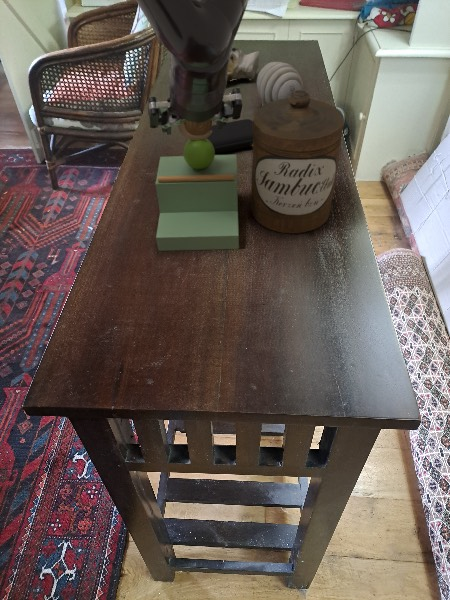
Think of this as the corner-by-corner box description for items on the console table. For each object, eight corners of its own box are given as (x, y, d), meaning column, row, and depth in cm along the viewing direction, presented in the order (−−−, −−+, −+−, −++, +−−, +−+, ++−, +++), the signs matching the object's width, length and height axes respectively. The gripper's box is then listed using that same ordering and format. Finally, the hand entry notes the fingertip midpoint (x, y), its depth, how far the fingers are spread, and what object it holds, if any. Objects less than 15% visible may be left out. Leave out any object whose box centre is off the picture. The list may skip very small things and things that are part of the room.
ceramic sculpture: (262, 51, 119) (205, 58, 119) (263, 85, 126) (209, 92, 126) (256, 38, 127) (203, 45, 127) (257, 71, 133) (206, 77, 133)
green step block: (158, 251, 80) (149, 202, 72) (166, 198, 90) (159, 151, 83) (238, 249, 79) (238, 200, 72) (237, 196, 90) (236, 149, 83)
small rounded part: (177, 161, 82) (169, 94, 74) (212, 157, 83) (209, 90, 74) (181, 177, 79) (173, 109, 70) (217, 173, 79) (214, 104, 71)
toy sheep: (276, 94, 122) (279, 49, 114) (316, 118, 112) (322, 70, 104) (243, 104, 119) (243, 58, 111) (281, 129, 108) (284, 81, 100)
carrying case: (207, 161, 100) (269, 148, 103) (206, 148, 97) (270, 135, 100) (193, 139, 106) (251, 127, 110) (192, 126, 104) (252, 115, 107)
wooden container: (252, 235, 82) (254, 114, 66) (250, 188, 92) (251, 74, 76) (335, 233, 81) (358, 112, 65) (324, 187, 91) (341, 72, 75)
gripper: (246, 49, 61) (231, 99, 77) (139, 59, 60) (147, 108, 76) (253, 105, 62) (238, 143, 78) (148, 116, 60) (154, 153, 76)
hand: (193, 126), depth 77 cm, fingers open, 8 cm apart
